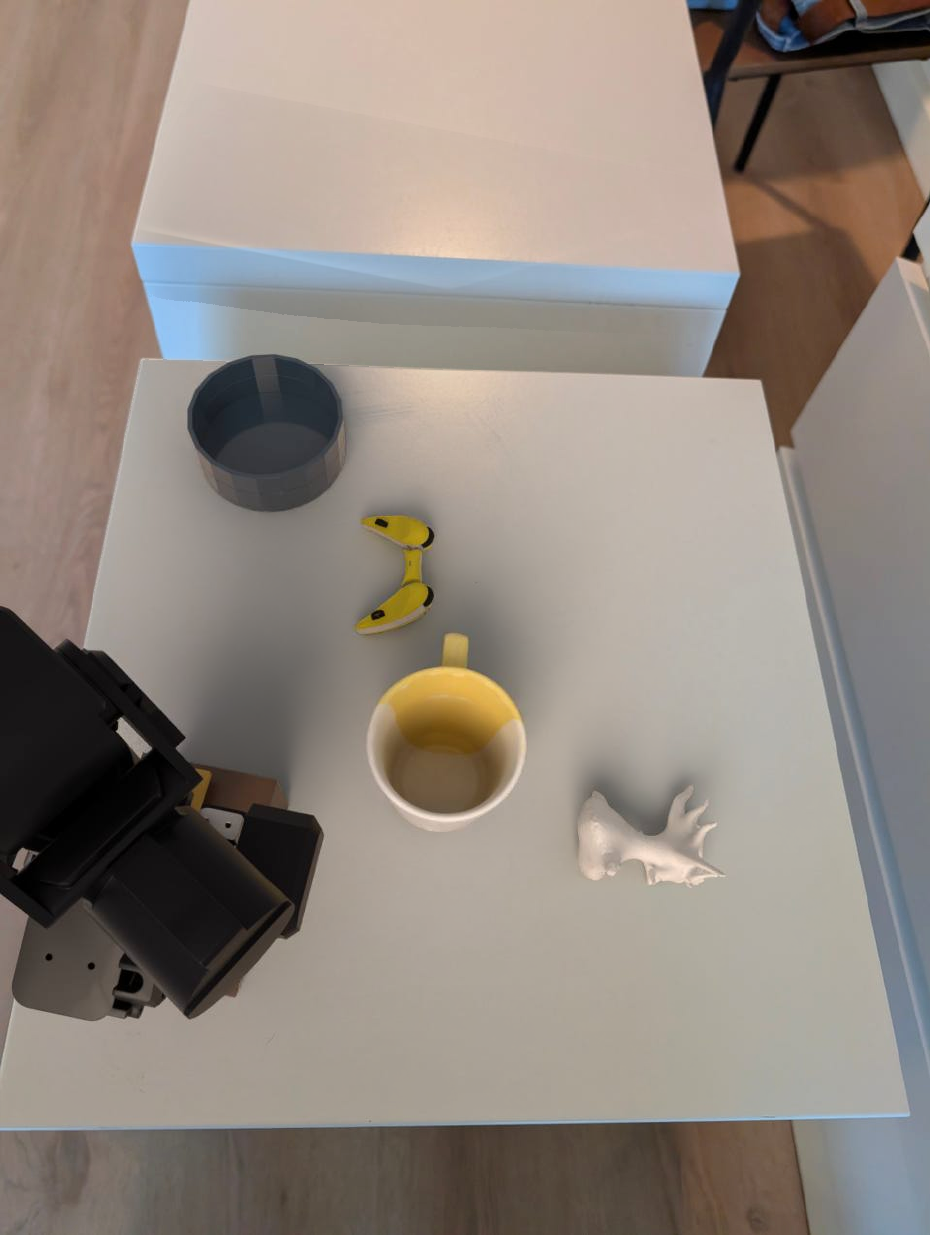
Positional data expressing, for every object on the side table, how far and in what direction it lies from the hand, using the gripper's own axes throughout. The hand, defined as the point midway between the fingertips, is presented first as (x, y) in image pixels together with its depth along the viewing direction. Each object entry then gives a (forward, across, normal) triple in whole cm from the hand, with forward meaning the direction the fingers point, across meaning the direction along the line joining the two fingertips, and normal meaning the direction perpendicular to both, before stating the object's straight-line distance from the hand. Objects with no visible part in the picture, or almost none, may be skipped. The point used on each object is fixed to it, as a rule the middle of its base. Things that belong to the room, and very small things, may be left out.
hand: (172, 871), depth 56 cm
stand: (+8, 0, 0) cm, 8 cm away
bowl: (+8, -5, +36) cm, 38 cm away
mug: (+8, +15, +12) cm, 21 cm away
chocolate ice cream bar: (0, 0, +2) cm, 2 cm away
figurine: (+8, +30, +10) cm, 32 cm away
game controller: (+8, +8, +26) cm, 29 cm away
